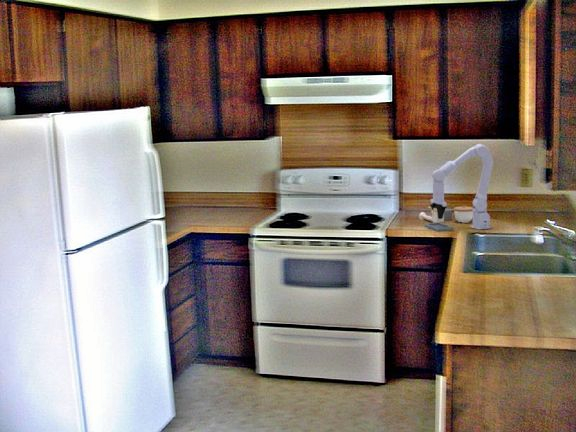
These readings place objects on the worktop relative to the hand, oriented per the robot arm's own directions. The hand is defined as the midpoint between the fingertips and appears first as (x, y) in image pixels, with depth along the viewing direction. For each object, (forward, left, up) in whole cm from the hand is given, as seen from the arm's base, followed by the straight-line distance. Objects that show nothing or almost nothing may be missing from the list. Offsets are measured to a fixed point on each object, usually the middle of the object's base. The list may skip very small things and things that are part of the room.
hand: (438, 218), depth 400 cm
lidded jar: (+10, -21, -6) cm, 24 cm away
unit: (+19, -13, -6) cm, 24 cm away
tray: (0, 0, -6) cm, 6 cm away
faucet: (+20, -5, -6) cm, 22 cm away
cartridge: (0, 0, -2) cm, 2 cm away
